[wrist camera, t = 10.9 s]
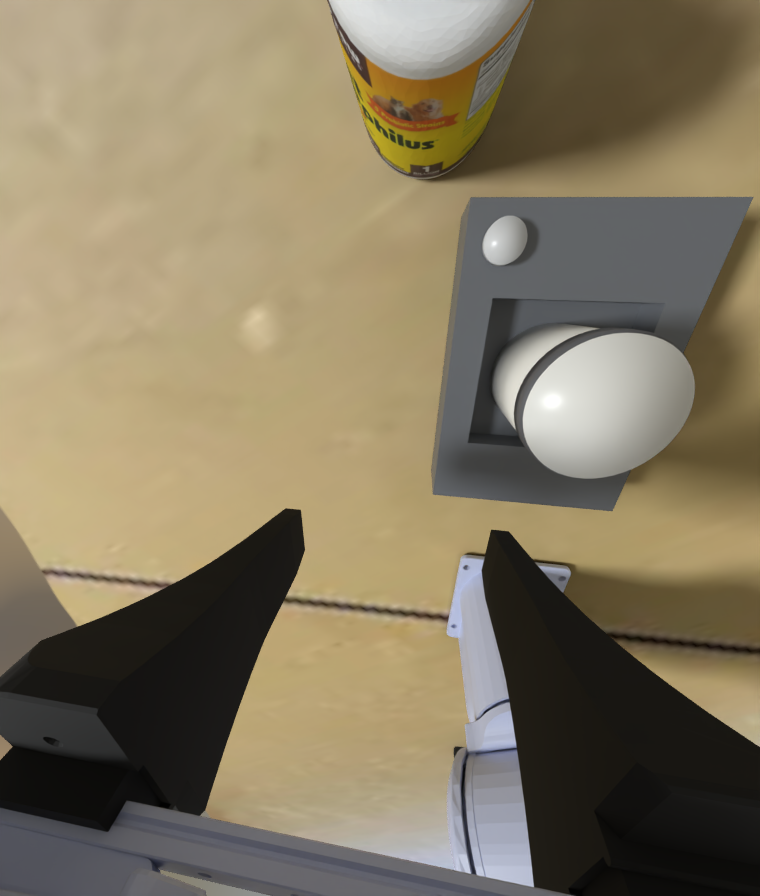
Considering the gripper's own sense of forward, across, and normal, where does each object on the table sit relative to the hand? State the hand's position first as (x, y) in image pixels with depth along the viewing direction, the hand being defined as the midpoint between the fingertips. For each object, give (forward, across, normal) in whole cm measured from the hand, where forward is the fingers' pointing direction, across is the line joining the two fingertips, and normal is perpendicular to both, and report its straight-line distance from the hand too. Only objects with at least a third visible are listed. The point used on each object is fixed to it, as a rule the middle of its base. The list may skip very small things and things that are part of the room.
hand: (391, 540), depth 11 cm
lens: (+8, -7, -5) cm, 12 cm away
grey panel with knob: (+9, -7, -5) cm, 13 cm away
